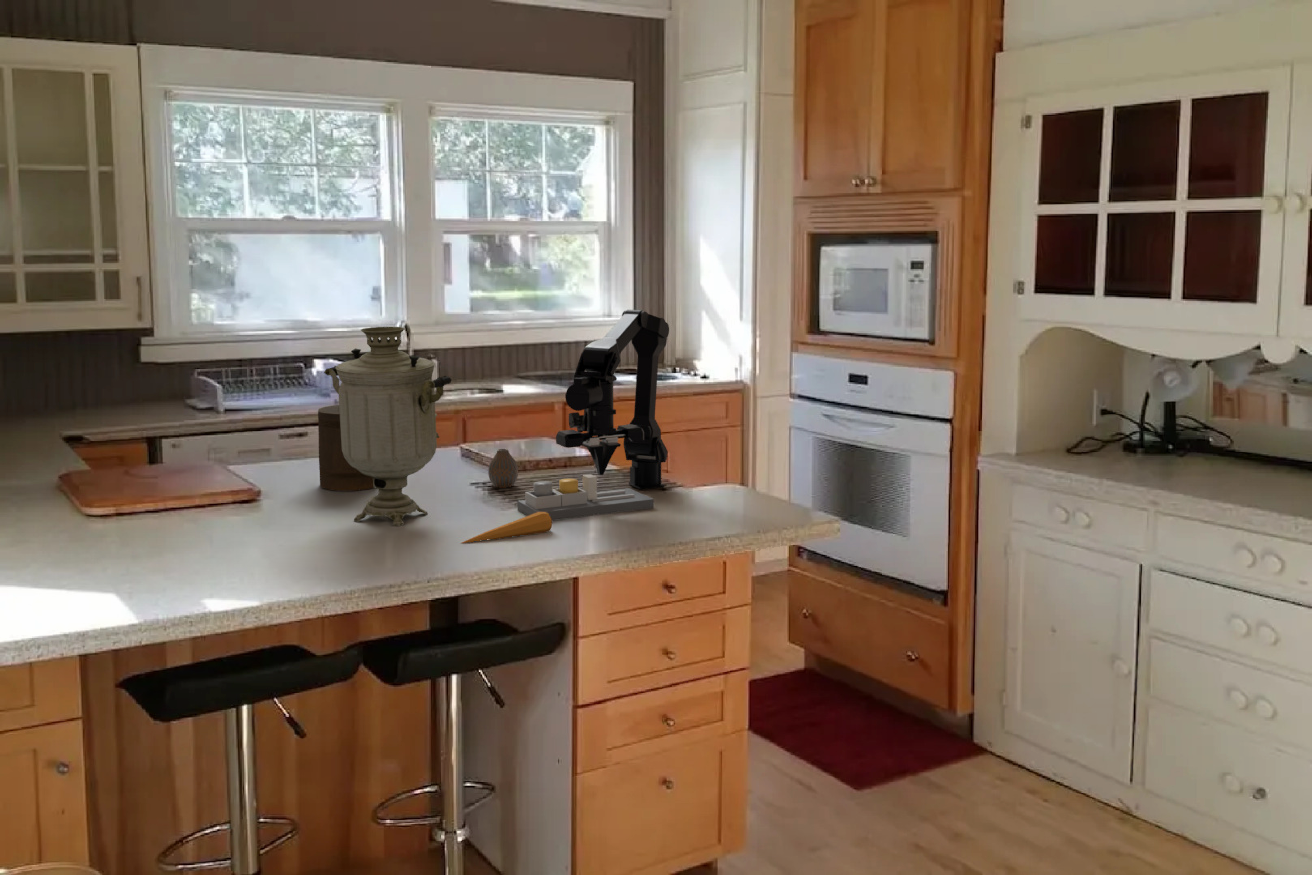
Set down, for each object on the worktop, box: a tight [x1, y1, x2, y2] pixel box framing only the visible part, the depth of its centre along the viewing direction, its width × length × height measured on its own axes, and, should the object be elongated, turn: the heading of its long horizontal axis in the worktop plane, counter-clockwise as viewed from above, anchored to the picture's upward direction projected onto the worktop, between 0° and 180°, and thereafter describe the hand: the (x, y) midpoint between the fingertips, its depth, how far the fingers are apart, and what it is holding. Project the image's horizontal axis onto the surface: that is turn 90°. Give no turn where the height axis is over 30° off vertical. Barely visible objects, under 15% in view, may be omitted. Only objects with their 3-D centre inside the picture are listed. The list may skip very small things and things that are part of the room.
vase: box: [487, 448, 519, 489], centre depth 293 cm, size 7×7×9 cm
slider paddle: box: [582, 473, 598, 500], centre depth 272 cm, size 2×3×5 cm, turn 28°
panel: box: [517, 487, 655, 521], centre depth 272 cm, size 27×12×4 cm, turn 118°
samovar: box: [323, 326, 453, 527], centre depth 262 cm, size 30×26×40 cm
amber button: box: [558, 478, 579, 494], centre depth 270 cm, size 4×4×3 cm
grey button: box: [532, 480, 553, 497], centre depth 267 cm, size 4×4×3 cm
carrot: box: [461, 512, 553, 544], centre depth 249 cm, size 20×4×4 cm, turn 122°
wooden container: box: [317, 404, 376, 492], centre depth 293 cm, size 15×15×22 cm
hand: (600, 474), depth 273 cm, fingers closed
